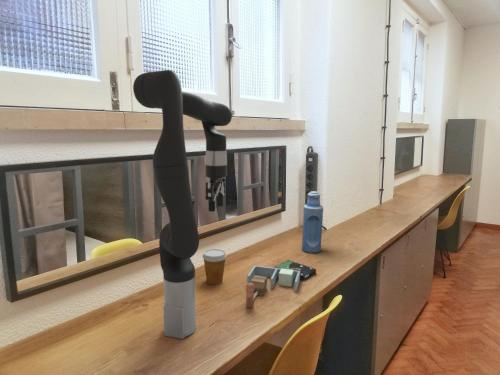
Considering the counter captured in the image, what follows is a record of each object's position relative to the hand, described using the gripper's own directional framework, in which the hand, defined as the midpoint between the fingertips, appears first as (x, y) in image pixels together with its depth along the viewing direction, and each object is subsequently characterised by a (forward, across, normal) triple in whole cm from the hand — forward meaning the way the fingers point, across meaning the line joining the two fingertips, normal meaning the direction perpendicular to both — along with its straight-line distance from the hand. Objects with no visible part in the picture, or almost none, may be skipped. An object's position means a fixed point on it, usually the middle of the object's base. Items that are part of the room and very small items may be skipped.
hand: (216, 208), depth 127 cm
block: (+32, +16, -24) cm, 43 cm away
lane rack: (+32, +14, -19) cm, 40 cm away
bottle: (+32, +57, -30) cm, 72 cm away
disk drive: (+33, +27, -26) cm, 50 cm away
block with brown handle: (+32, 0, -15) cm, 35 cm away
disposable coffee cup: (+32, +9, +4) cm, 34 cm away
